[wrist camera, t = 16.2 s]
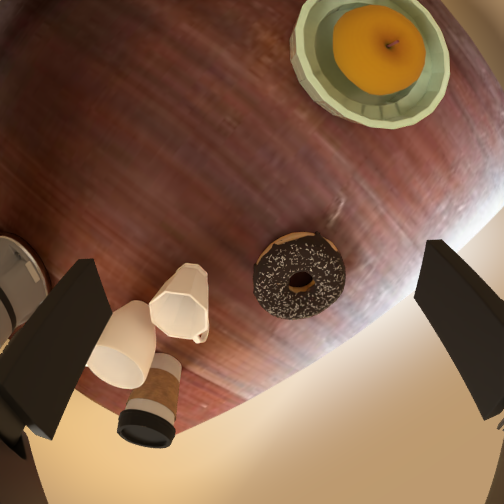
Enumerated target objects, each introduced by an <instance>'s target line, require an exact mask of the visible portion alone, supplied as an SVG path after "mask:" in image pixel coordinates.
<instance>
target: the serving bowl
mask: <svg viewBox="0 0 504 504" xmlns="http://www.w3.org/2000/svg"><path fill="white" fill-rule="evenodd" d="M367 5H381V6H386V7H389V8H391V9H393V10H395V11H397V12H399V13H401V14H403V15H404V16H405V17H406V18H407V19H408V20H410V21H411V22H412V23H413V24H414V26H415V27H416V28H417V30H418V31H419V32H420V34H421V36H422V38H423V42H424V46H425V50H426V56H425V65H424V68H423V70H422V73H421V75H420V77H419V78H418V80H416V81H415V82H414V83H412V84H411V85H410V86H409V87H407V88H406V89H403V90H401V91H398V92H395V93H392V94H387V95H380V96H379V95H372V94H369V93H367V92H365V91H363V90H361V89H360V88H359V87H357V86H356V85H355V84H354V83H352V82H351V81H350V80H349V79H348V78H347V77H346V76H345V75H344V73H343V72H342V71H341V70H340V69H339V67H338V65H337V63H336V61H335V58H334V54H333V29H334V26H335V24H336V23H337V21H338V20H339V18H340V17H341V16H342V15H343V14H345V13H346V12H348V11H350V10H353V9H355V8H359V7H363V6H367ZM290 58H291V63H292V66H293V68H294V71H295V73H296V76H297V79H298V81H299V83H300V84H301V85H302V87H303V88H304V89H305V90H306V92H307V93H308V94H309V96H310V97H311V98H312V100H314V101H315V102H316V103H317V104H319V105H320V106H321V107H323V108H324V109H326V110H327V111H328V112H329V113H331V114H333V115H335V116H337V117H340V118H343V119H345V120H348V121H350V122H353V123H357V124H361V125H365V126H368V127H376V128H387V129H396V128H401V127H405V126H409V125H413V124H416V123H417V122H419V121H420V120H422V119H423V118H425V117H426V116H428V115H429V114H431V113H432V112H433V111H434V110H435V108H436V107H437V105H438V104H439V102H440V101H441V100H442V98H443V97H444V95H445V91H446V87H447V84H448V80H449V76H450V63H449V52H448V49H447V46H446V43H445V40H444V37H443V34H442V31H441V29H440V28H439V26H438V25H437V23H436V22H435V20H434V19H433V17H432V16H431V14H430V13H429V12H428V10H427V9H426V8H425V7H424V6H422V5H421V4H420V3H419V2H418V1H417V0H307V1H306V2H305V4H304V5H303V6H302V8H301V10H300V13H299V15H298V17H297V19H296V22H295V25H294V28H293V31H292V34H291V37H290Z"/></svg>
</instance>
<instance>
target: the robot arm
mask: <svg viewBox="0 0 504 504" xmlns="http://www.w3.org/2000/svg"><path fill="white" fill-rule="evenodd" d="M414 299H415V300H416V302H417V303H418V305H419V306H420V308H421V309H422V311H423V313H424V314H425V315H426V317H427V319H428V320H429V322H430V324H431V325H432V327H433V328H434V330H435V332H436V333H437V335H438V337H439V338H440V340H441V341H442V343H443V345H444V346H445V348H446V350H447V352H448V353H449V355H450V357H451V359H452V360H453V362H454V364H455V366H456V367H457V369H458V371H459V373H460V374H461V376H462V378H463V380H464V382H465V384H466V386H467V388H468V389H469V391H470V393H471V395H472V397H473V399H474V401H475V403H476V405H477V407H478V409H479V411H480V413H481V415H482V417H483V419H484V420H487V419H489V418H491V417H494V416H496V415H498V414H500V413H501V412H502V411H503V409H504V301H503V300H502V299H500V298H499V297H498V295H497V294H496V293H495V292H494V291H493V290H492V289H491V288H490V287H489V286H488V285H487V284H486V283H485V281H484V280H483V279H482V278H480V276H479V275H478V274H477V273H476V272H475V271H474V270H473V269H472V268H471V267H470V266H469V265H468V264H467V263H466V262H465V261H464V260H463V259H462V258H461V257H460V256H459V255H458V254H457V253H456V252H455V251H454V250H452V249H451V248H450V247H449V246H448V245H447V244H446V243H445V242H444V241H443V240H442V239H441V240H427V242H426V247H425V252H424V257H423V261H422V266H421V270H420V275H419V279H418V283H417V287H416V291H415V295H414ZM112 314H113V313H112V310H111V308H110V305H109V302H108V300H107V297H106V294H105V292H104V289H103V286H102V283H101V280H100V277H99V274H98V271H97V268H96V265H95V262H94V259H79V260H78V261H77V262H76V263H75V264H74V265H73V266H72V267H71V268H70V270H69V271H68V272H67V273H66V274H65V275H64V276H63V278H62V279H61V280H60V281H59V282H58V283H57V285H56V286H55V287H54V288H53V289H52V291H51V283H50V279H49V276H48V273H47V271H46V268H45V266H44V264H43V263H42V261H41V259H40V258H39V256H38V255H37V253H36V252H35V251H34V250H33V248H32V247H31V246H30V245H29V244H28V243H27V242H26V241H24V240H23V239H22V238H20V237H19V236H17V235H15V234H12V233H7V232H6V233H0V348H1V347H2V345H3V344H4V343H5V341H6V340H7V339H8V337H9V336H10V335H11V333H12V332H13V331H14V329H15V328H16V327H17V326H18V325H20V324H22V323H24V322H26V321H27V322H26V323H25V325H24V326H23V327H22V328H21V329H20V330H19V331H17V332H16V333H15V334H14V336H13V337H12V338H11V340H10V341H9V343H8V345H6V347H5V349H4V350H3V353H1V354H0V504H48V502H47V499H46V496H45V493H44V490H43V488H42V485H41V482H40V479H39V476H38V472H37V469H36V466H35V463H34V459H33V455H32V452H31V448H30V444H29V440H28V437H27V435H26V433H25V432H24V431H23V429H24V427H25V425H27V427H28V428H29V429H30V430H31V431H32V432H33V433H34V434H35V435H38V436H40V437H43V438H46V439H49V440H52V439H53V437H54V434H55V432H56V429H57V427H58V425H59V422H60V420H61V418H62V415H63V413H64V410H65V408H66V406H67V404H68V402H69V399H70V397H71V395H72V393H73V391H74V389H75V386H76V384H77V382H78V380H79V378H80V376H81V374H82V372H83V370H84V368H85V366H86V364H87V362H88V360H89V358H90V356H91V354H92V352H93V350H94V348H95V346H96V344H97V342H98V340H99V338H100V336H101V334H102V332H103V330H104V329H105V327H106V325H107V323H108V321H109V319H110V318H111V316H112ZM503 425H504V418H503V420H502V421H501V422H500V423H499V424H498V427H497V429H498V430H499V429H500V428H501V427H502V426H503ZM503 431H504V429H503ZM485 504H504V440H503V444H502V449H501V453H500V457H499V461H498V465H497V468H496V472H495V475H494V479H493V482H492V485H491V488H490V491H489V494H488V497H487V500H486V503H485Z"/></svg>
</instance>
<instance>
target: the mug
mask: <svg viewBox="0 0 504 504" xmlns="http://www.w3.org/2000/svg"><path fill="white" fill-rule="evenodd" d="M155 349H156V331H155V324H153V323H152V322H151V315H150V307H149V305H148V304H146V303H145V302H142V301H139V300H134V301H131V302H129V303H128V304H126V305H124V306H123V307H121V308H119V309H118V310H116V311H115V312H113V314H112V316H111V318H110V319H109V321H108V323H107V325H106V327H105V329H104V330H103V332H102V334H101V336H100V338H99V340H98V342H97V344H96V346H95V348H94V350H93V352H92V354H91V356H90V358H89V360H88V362H87V364H86V366H89V368H90V369H91V370H92V372H93V373H94V374H95V375H96V376H98V377H99V378H100V379H102V380H103V381H105V382H107V383H109V384H111V385H113V386H116V387H119V388H124V389H134V388H137V387H140V386H141V385H142V384H143V383H144V382H145V380H146V378H147V375H148V372H149V369H150V366H151V363H152V361H153V357H154V354H155Z"/></svg>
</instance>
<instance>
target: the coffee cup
mask: <svg viewBox="0 0 504 504" xmlns="http://www.w3.org/2000/svg"><path fill="white" fill-rule="evenodd" d="M181 369H182V367H181V364H180V362H179V361H178V360H177V359H176V358H174V357H173V356H171V355H168V354H165V353H155V354H154V357H153V361H152V363H151V366H150V369H149V372H148V375H147V378H146V380H145V382H144V383H143V384H142V385H141V386H140V387H137V388H134V389H133V390H132V392H131V394H130V396H129V398H128V400H127V403H126V408H125V410H123V411H122V412H121V413H120V416H119V419H118V420H119V422H118V428H117V433H118V434H119V435H120V436H121V437H122V438H123V439H125V440H126V441H128V442H130V443H133V444H136V445H139V446H144V447H150V448H166V447H168V446H170V445H171V443H172V440H173V438H174V437H175V432H176V430H175V428H174V422H175V420H176V412H177V403H178V393H179V383H180V376H181Z"/></svg>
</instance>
